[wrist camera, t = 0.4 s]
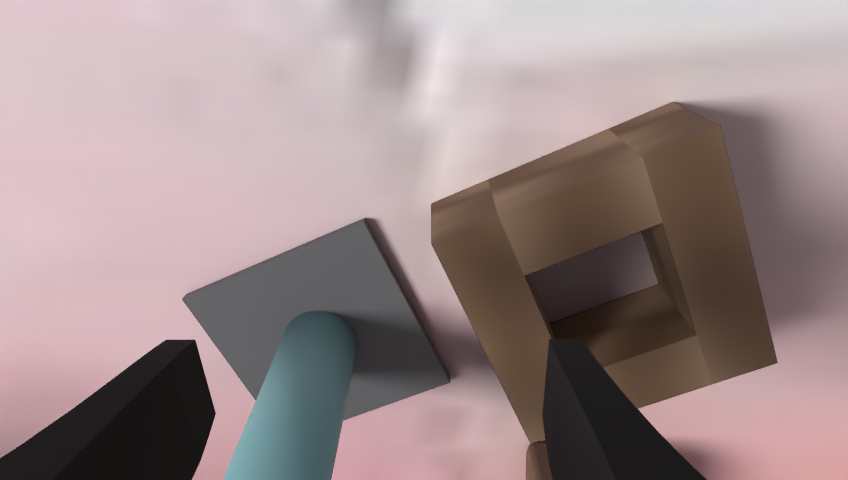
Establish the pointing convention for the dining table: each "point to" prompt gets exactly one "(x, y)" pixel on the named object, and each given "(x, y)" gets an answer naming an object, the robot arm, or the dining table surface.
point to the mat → (332, 292)
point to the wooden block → (537, 462)
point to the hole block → (599, 225)
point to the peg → (299, 403)
